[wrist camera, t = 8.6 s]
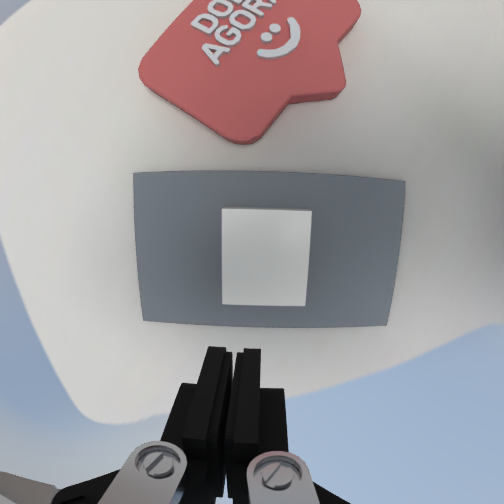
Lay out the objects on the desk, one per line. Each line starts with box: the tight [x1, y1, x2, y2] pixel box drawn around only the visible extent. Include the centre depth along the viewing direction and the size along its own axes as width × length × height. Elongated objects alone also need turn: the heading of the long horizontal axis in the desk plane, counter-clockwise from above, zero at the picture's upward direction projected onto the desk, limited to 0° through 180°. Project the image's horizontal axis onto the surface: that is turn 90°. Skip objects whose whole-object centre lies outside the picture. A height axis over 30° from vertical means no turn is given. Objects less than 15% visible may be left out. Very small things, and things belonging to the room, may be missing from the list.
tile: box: [222, 207, 312, 306], centre depth 26 cm, size 2×8×7 cm
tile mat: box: [133, 171, 405, 328], centre depth 27 cm, size 24×14×1 cm, turn 89°
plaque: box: [138, 0, 361, 145], centre depth 21 cm, size 18×4×15 cm
